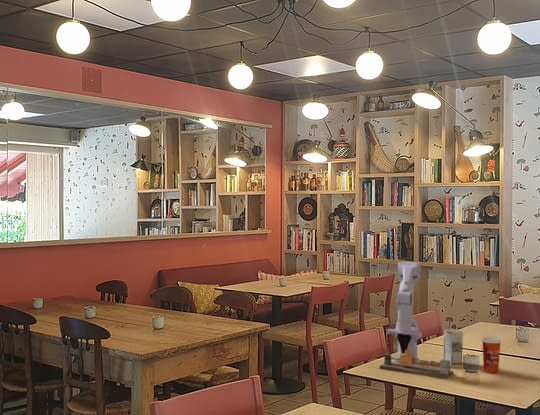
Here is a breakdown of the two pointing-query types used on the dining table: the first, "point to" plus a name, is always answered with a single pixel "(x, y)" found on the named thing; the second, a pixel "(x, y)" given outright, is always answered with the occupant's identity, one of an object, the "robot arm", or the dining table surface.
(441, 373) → the grey slider rail
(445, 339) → the syrup box
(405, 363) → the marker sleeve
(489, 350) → the paper cup
